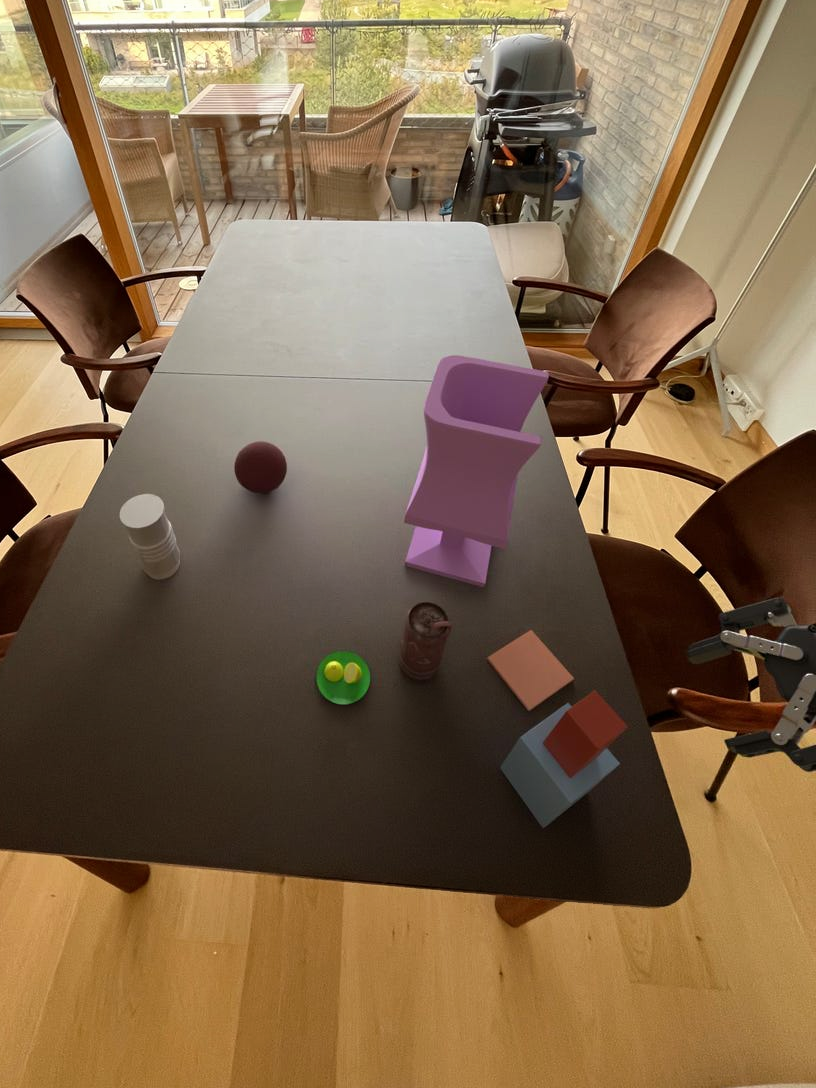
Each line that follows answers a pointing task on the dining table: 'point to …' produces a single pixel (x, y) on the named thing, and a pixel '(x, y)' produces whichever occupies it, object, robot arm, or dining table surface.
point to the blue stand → (550, 773)
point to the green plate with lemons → (343, 677)
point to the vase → (470, 464)
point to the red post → (583, 733)
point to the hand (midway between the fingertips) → (707, 700)
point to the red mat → (530, 670)
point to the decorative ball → (260, 467)
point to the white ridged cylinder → (151, 535)
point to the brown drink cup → (423, 642)
